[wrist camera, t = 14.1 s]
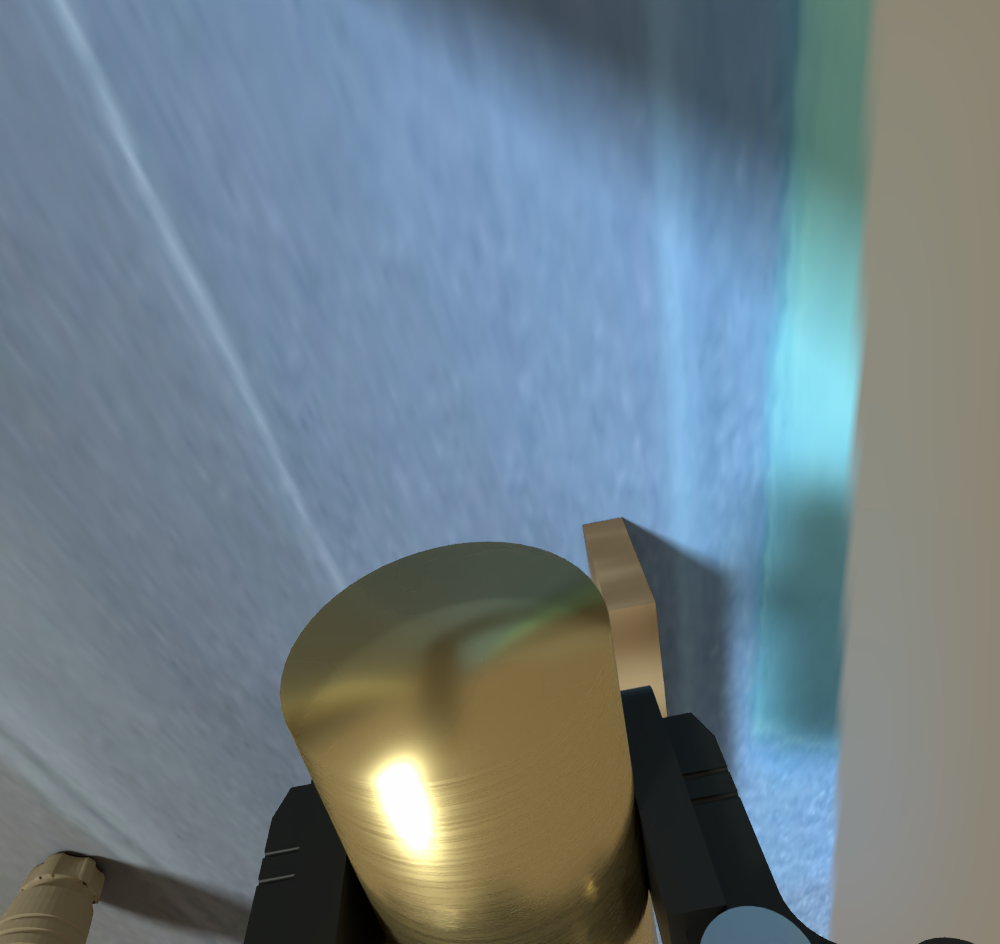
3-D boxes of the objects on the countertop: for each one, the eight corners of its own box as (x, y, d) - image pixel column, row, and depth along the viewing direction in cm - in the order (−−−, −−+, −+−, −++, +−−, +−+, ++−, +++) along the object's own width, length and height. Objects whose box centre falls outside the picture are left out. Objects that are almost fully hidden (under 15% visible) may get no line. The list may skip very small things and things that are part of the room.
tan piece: (652, 764, 34) (682, 865, 30) (476, 796, 35) (480, 901, 30) (621, 517, 28) (655, 602, 23) (403, 559, 28) (395, 651, 23)
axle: (644, 962, 16) (714, 1200, 13) (470, 1007, 16) (492, 1259, 13) (568, 516, 11) (657, 725, 7) (298, 580, 11) (255, 824, 7)
